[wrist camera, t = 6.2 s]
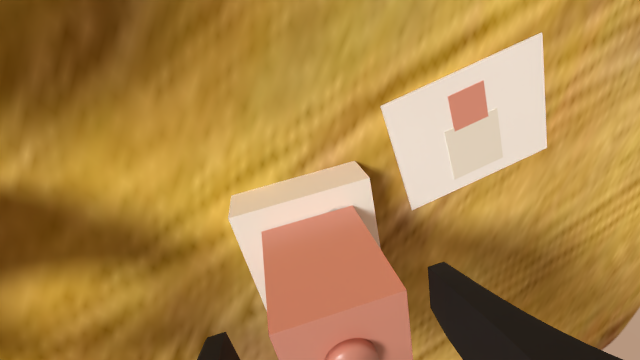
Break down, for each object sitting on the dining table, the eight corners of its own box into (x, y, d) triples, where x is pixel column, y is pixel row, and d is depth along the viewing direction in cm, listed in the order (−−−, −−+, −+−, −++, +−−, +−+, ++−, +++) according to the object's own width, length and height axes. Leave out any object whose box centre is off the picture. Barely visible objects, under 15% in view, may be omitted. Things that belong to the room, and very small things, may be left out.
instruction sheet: (545, 147, 16) (548, 148, 16) (411, 209, 16) (412, 210, 16) (540, 32, 14) (543, 32, 14) (380, 106, 14) (381, 106, 13)
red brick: (364, 274, 15) (420, 385, 10) (284, 299, 14) (303, 427, 10) (352, 205, 13) (413, 301, 8) (261, 231, 13) (269, 348, 8)
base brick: (368, 251, 18) (385, 281, 15) (267, 283, 17) (270, 319, 15) (352, 157, 15) (369, 177, 13) (231, 191, 14) (228, 218, 12)
